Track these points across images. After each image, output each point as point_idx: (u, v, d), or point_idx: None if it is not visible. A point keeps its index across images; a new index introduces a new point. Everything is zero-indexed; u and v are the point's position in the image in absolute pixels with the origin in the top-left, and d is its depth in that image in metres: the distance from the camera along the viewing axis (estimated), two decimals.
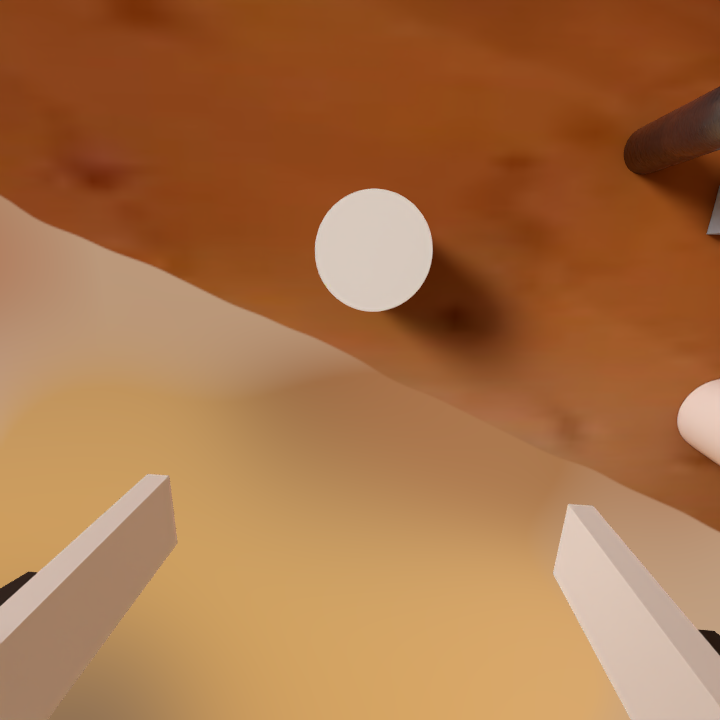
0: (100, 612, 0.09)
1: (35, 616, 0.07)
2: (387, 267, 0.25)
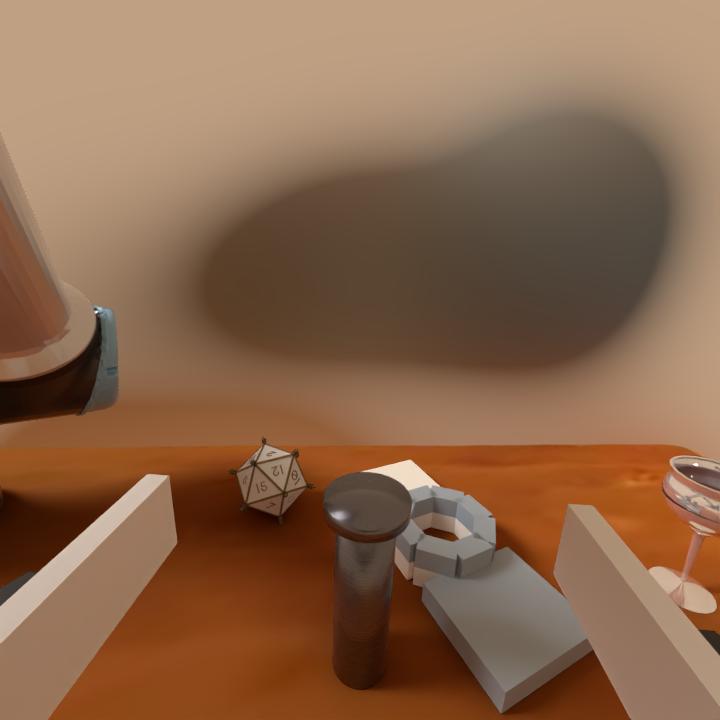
0: (100, 611, 0.09)
1: (35, 616, 0.07)
2: None
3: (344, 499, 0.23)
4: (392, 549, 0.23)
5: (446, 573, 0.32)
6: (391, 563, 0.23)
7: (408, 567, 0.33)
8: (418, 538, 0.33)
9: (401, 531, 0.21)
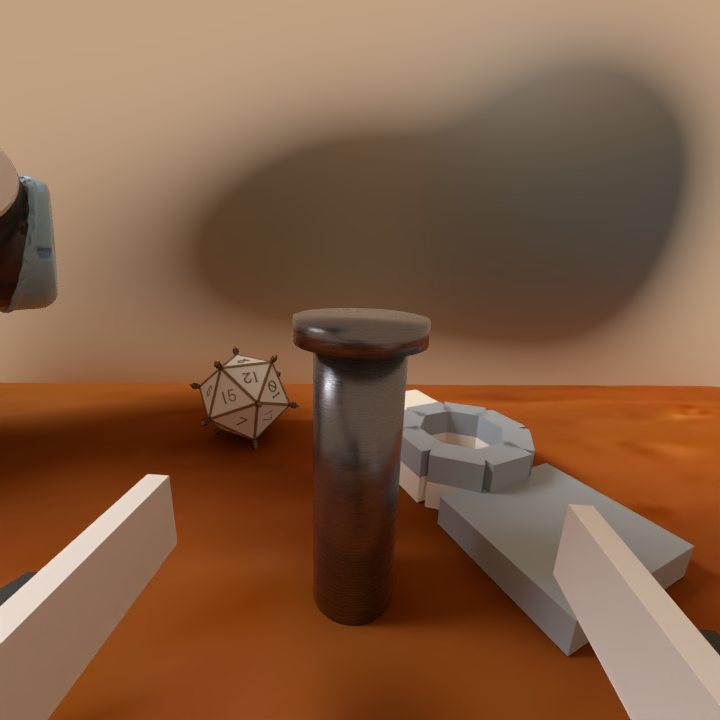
0: (100, 612, 0.09)
1: (35, 616, 0.07)
2: None
3: (324, 317, 0.15)
4: (400, 395, 0.15)
5: (470, 486, 0.24)
6: (399, 420, 0.15)
7: (419, 484, 0.25)
8: (431, 446, 0.25)
9: (416, 350, 0.13)
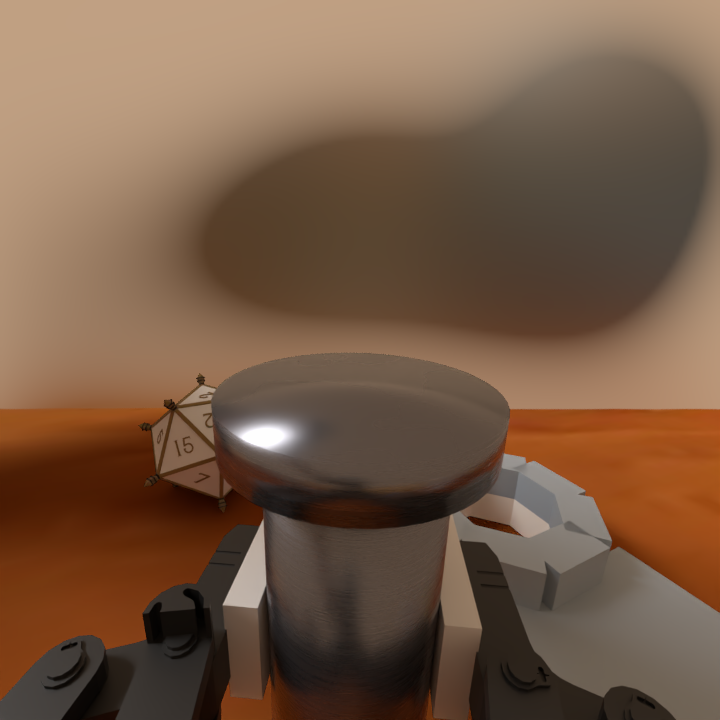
0: None
1: None
2: None
3: (283, 391, 0.07)
4: (441, 553, 0.07)
5: (523, 600, 0.16)
6: (436, 598, 0.07)
7: None
8: (462, 532, 0.17)
9: (487, 485, 0.06)
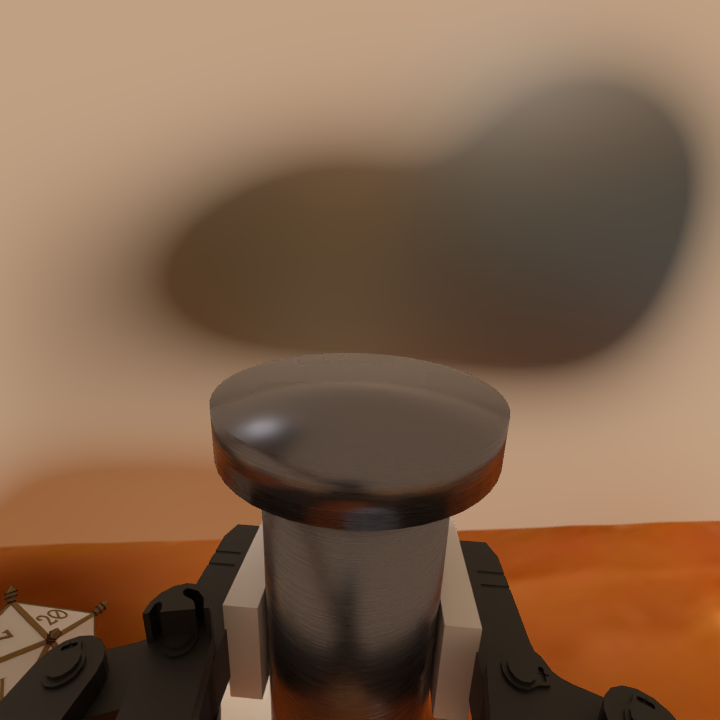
0: None
1: None
2: None
3: (282, 392, 0.07)
4: (441, 555, 0.07)
5: None
6: (436, 599, 0.07)
7: None
8: None
9: (487, 487, 0.06)
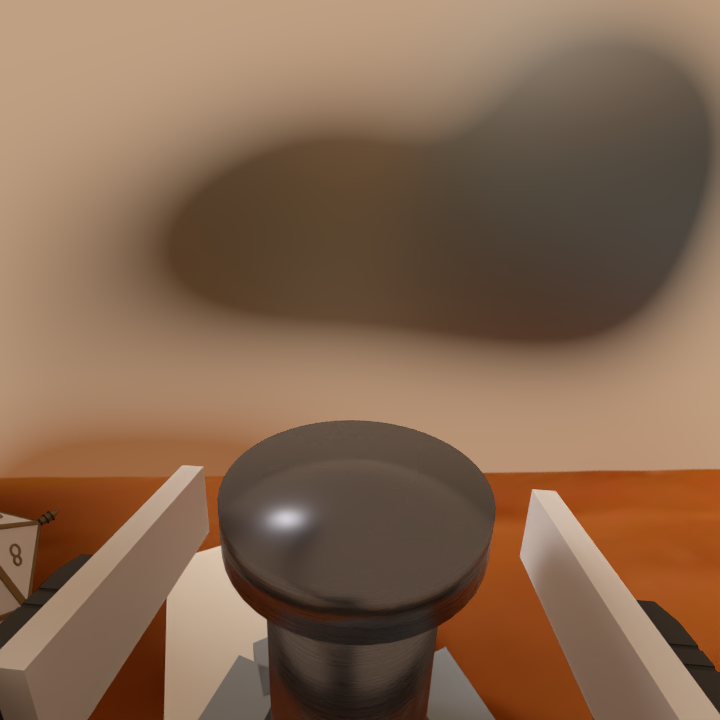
0: (148, 592, 0.10)
1: (98, 592, 0.08)
2: None
3: (284, 484, 0.07)
4: (432, 634, 0.08)
5: None
6: (428, 673, 0.08)
7: None
8: None
9: (473, 590, 0.06)
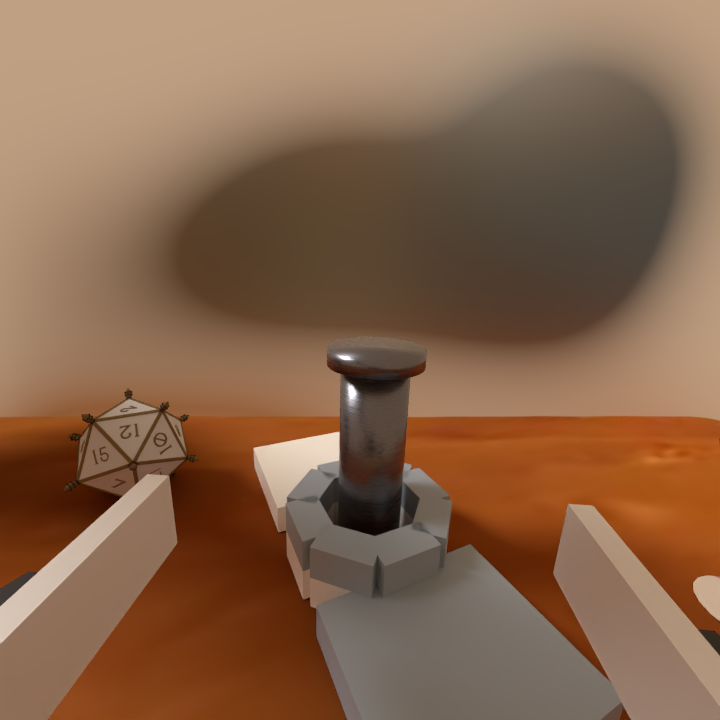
0: (100, 612, 0.09)
1: (35, 616, 0.07)
2: None
3: (350, 347, 0.20)
4: (405, 404, 0.20)
5: (359, 589, 0.19)
6: (403, 422, 0.21)
7: (303, 579, 0.20)
8: (320, 531, 0.20)
9: (416, 373, 0.19)
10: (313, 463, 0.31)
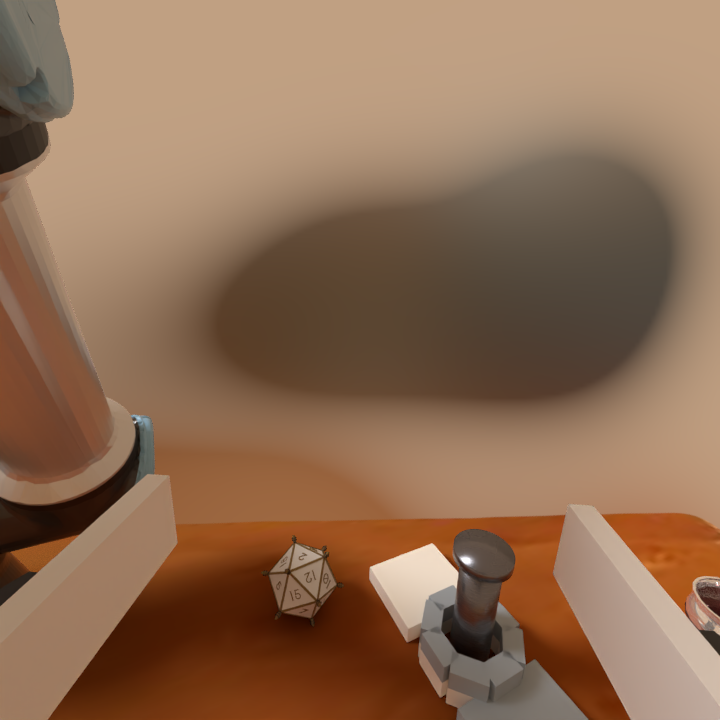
0: (100, 612, 0.09)
1: (35, 616, 0.07)
2: None
3: (469, 552, 0.34)
4: None
5: (479, 697, 0.33)
6: (499, 594, 0.35)
7: (441, 687, 0.35)
8: (450, 658, 0.35)
9: (511, 574, 0.33)
10: (416, 583, 0.45)
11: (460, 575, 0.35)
